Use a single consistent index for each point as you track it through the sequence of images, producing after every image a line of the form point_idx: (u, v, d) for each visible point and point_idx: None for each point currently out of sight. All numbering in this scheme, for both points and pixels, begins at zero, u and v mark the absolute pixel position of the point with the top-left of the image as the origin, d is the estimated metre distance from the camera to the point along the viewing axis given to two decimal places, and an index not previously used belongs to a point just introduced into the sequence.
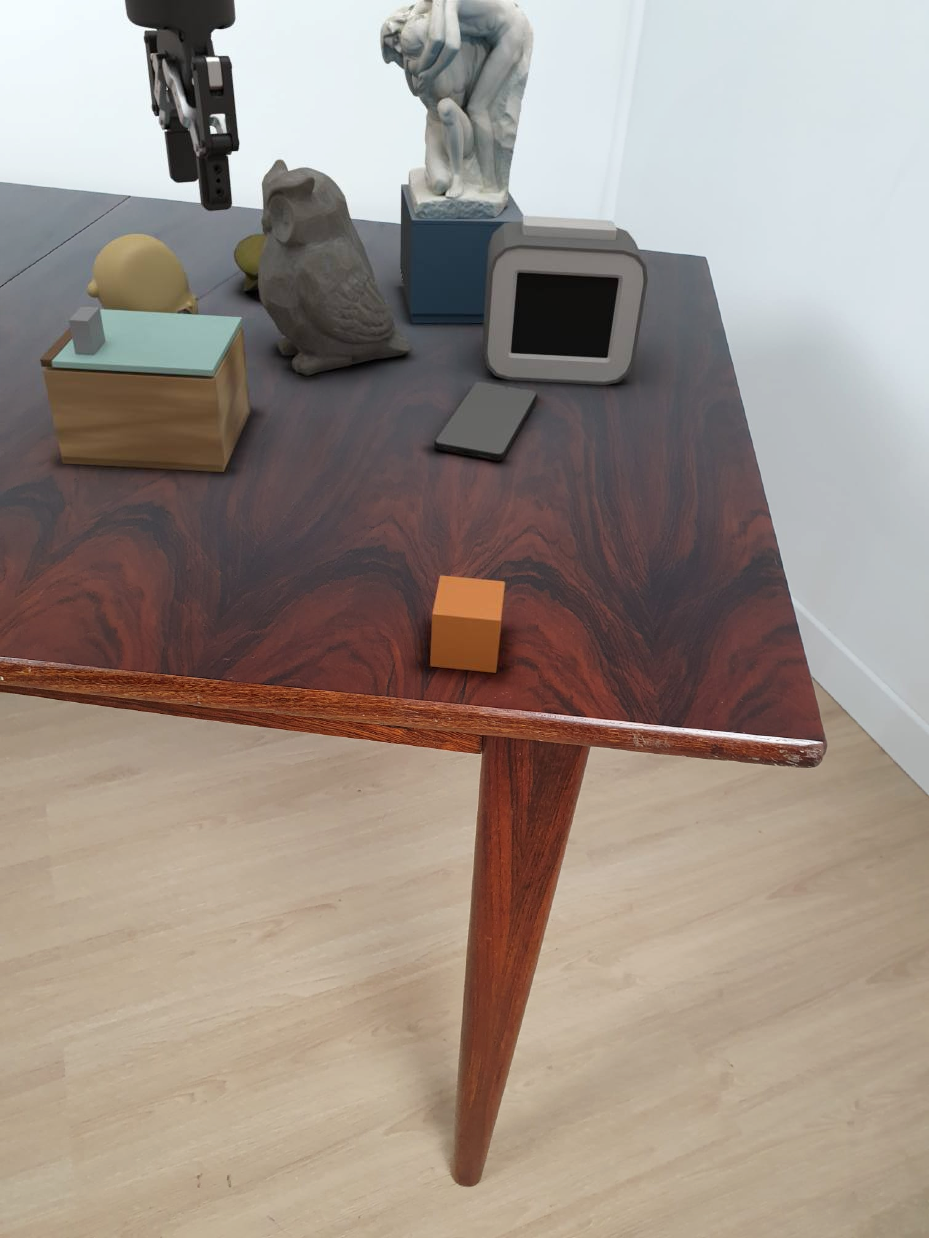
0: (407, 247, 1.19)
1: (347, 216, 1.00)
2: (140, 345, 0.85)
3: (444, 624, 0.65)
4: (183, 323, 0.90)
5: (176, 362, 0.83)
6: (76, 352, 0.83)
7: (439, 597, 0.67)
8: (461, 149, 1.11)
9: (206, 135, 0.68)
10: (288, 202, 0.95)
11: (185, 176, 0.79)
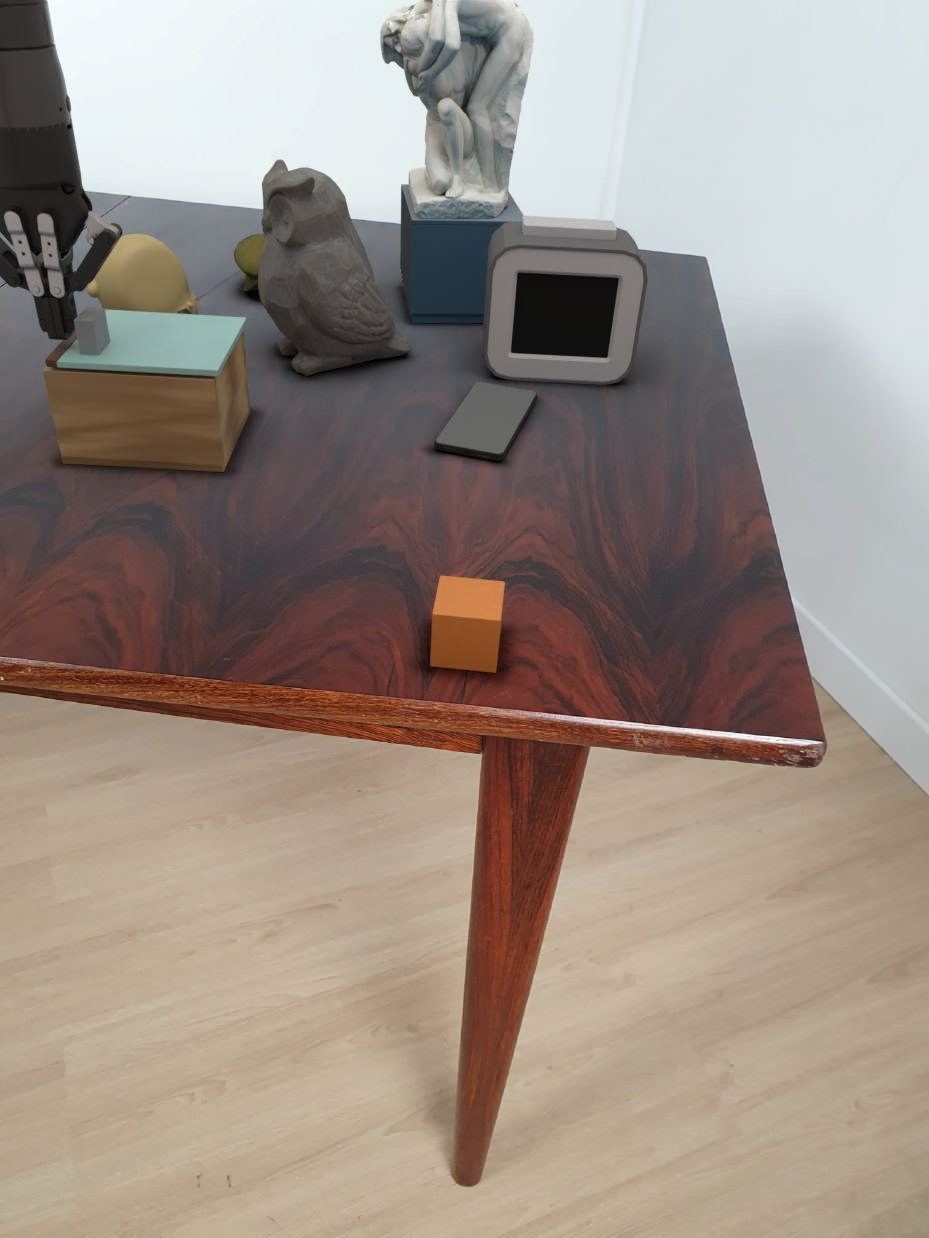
0: (407, 247, 1.19)
1: (347, 217, 1.00)
2: (145, 345, 0.85)
3: (444, 624, 0.65)
4: (188, 323, 0.90)
5: (181, 362, 0.83)
6: (81, 352, 0.83)
7: (439, 597, 0.67)
8: (461, 149, 1.11)
9: (83, 275, 0.80)
10: (288, 202, 0.95)
11: None
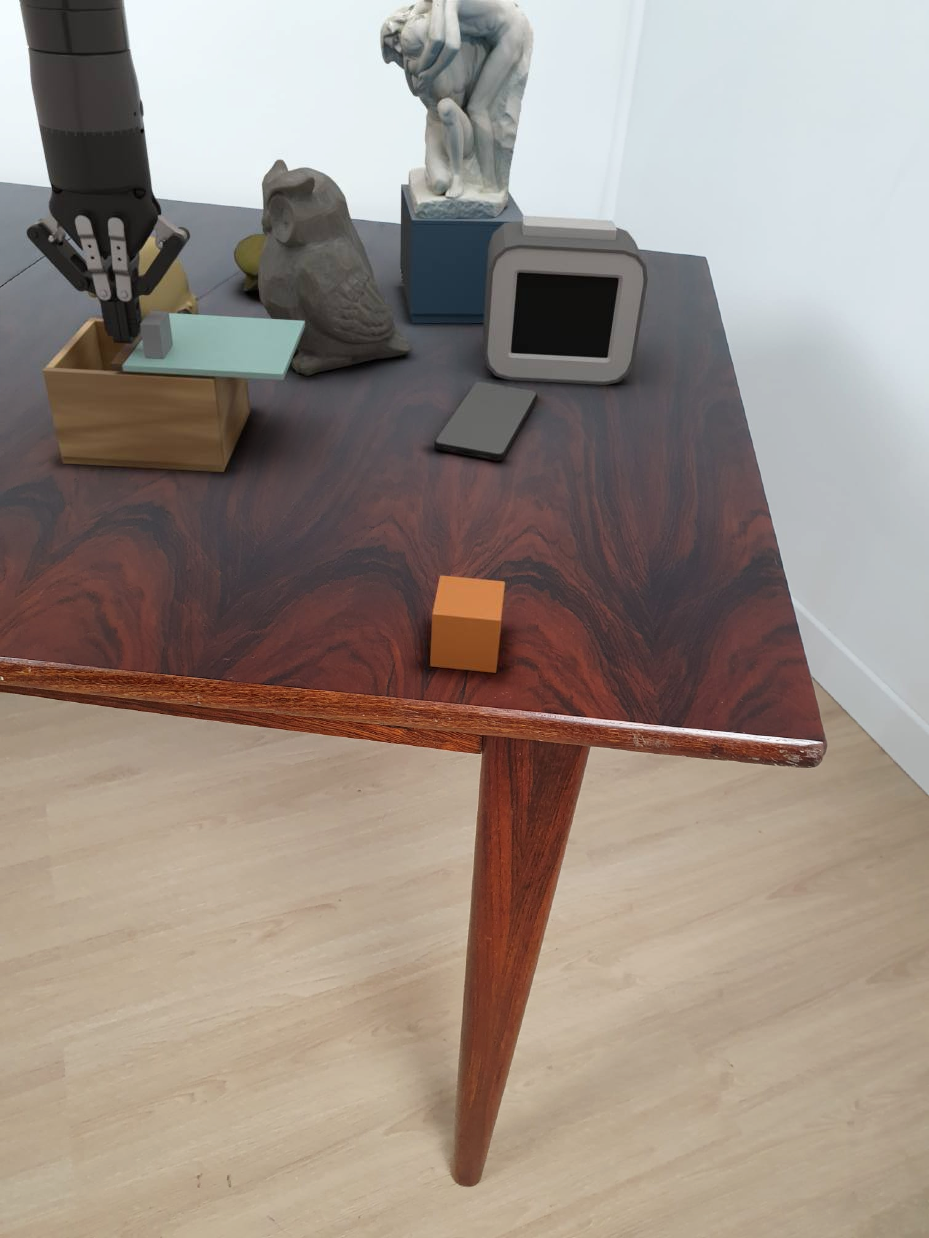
0: (407, 247, 1.19)
1: (347, 217, 1.00)
2: (208, 349, 0.85)
3: (444, 624, 0.65)
4: (247, 327, 0.90)
5: (246, 366, 0.83)
6: (146, 356, 0.83)
7: (439, 597, 0.67)
8: (461, 149, 1.11)
9: (151, 279, 0.80)
10: (288, 202, 0.95)
11: None
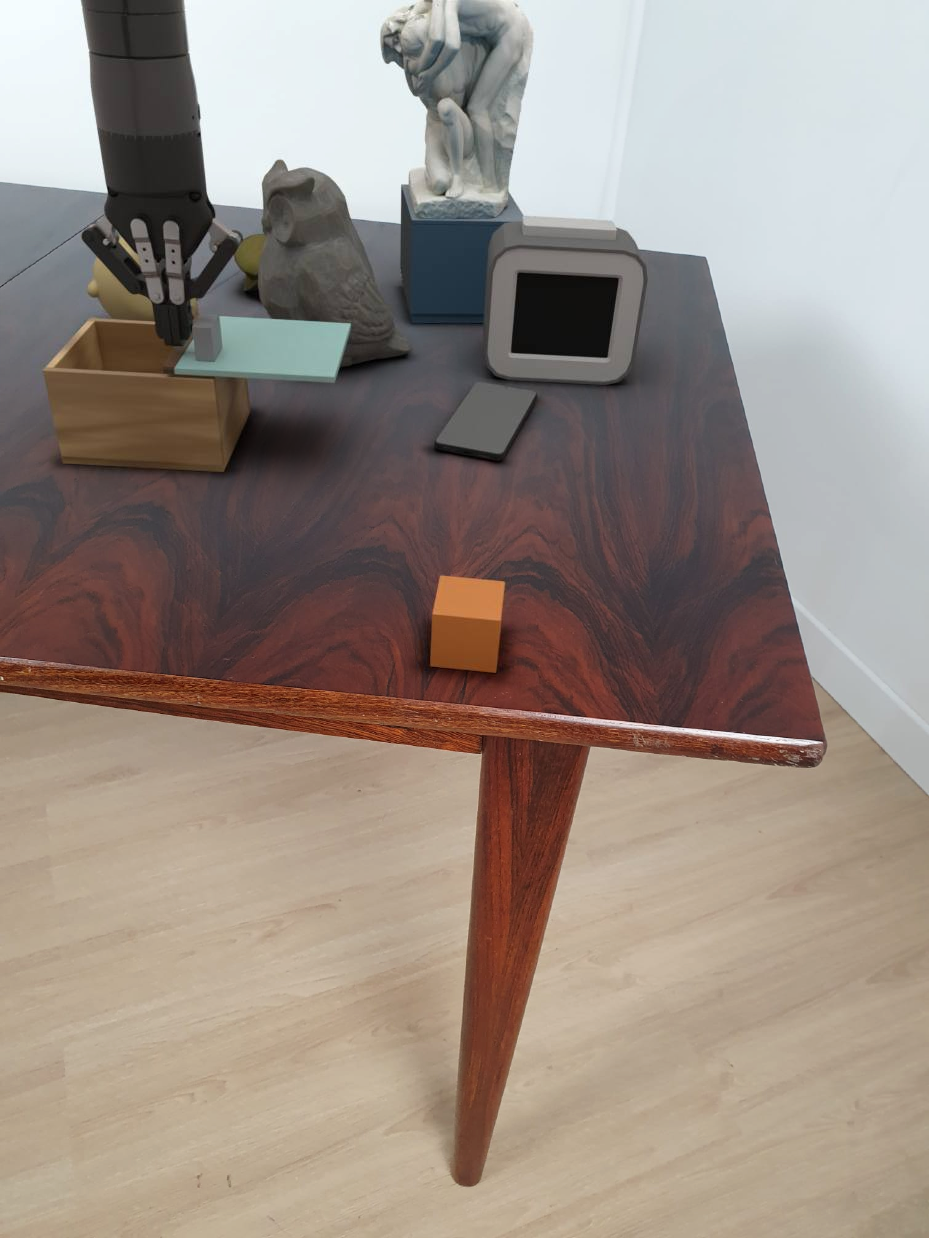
0: (407, 247, 1.19)
1: (347, 217, 1.00)
2: (257, 352, 0.85)
3: (444, 624, 0.65)
4: (294, 329, 0.90)
5: (297, 369, 0.83)
6: (197, 359, 0.83)
7: (439, 597, 0.67)
8: (461, 149, 1.11)
9: (204, 282, 0.80)
10: (288, 202, 0.95)
11: None
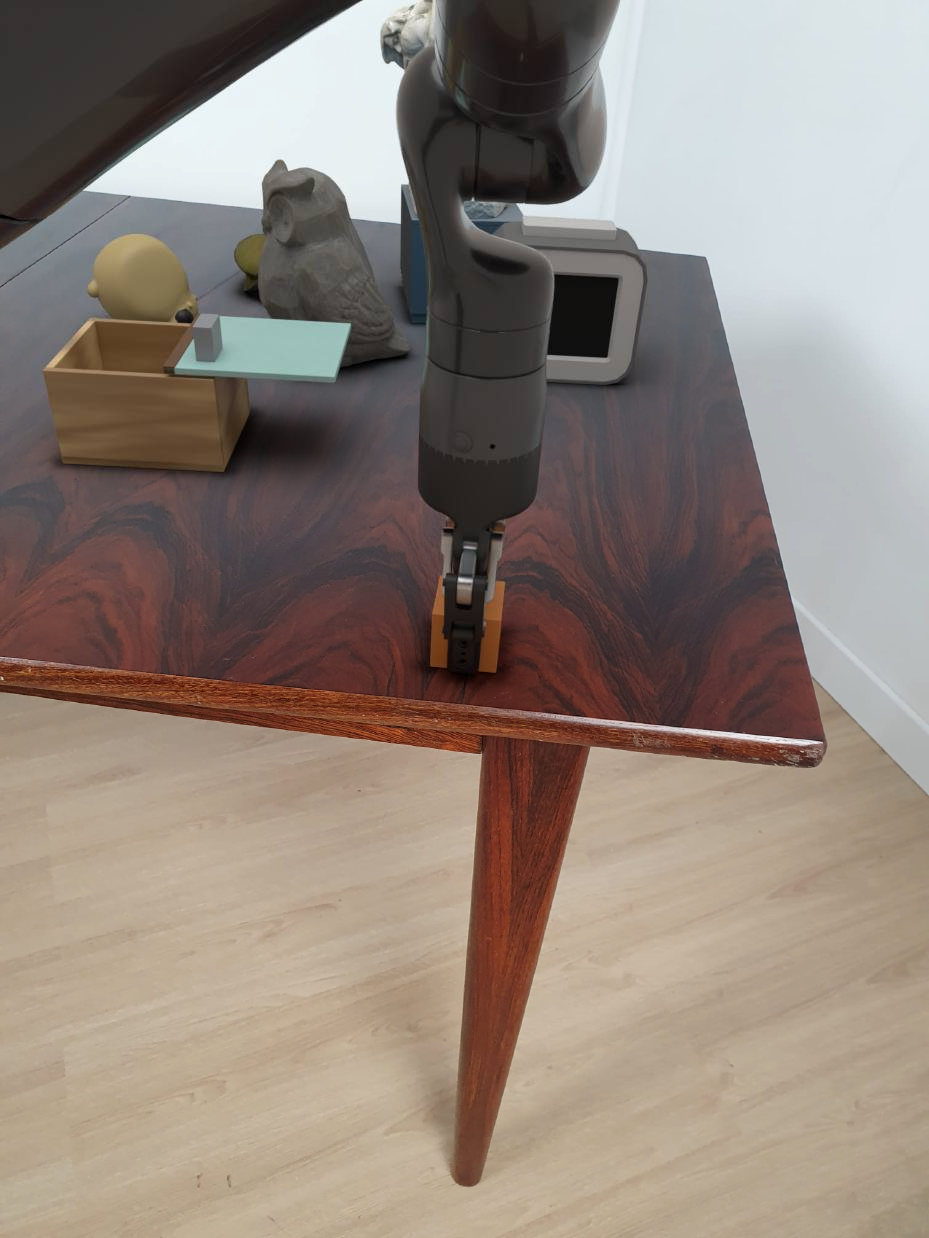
0: (407, 247, 1.19)
1: (347, 217, 1.00)
2: (258, 352, 0.85)
3: None
4: (295, 330, 0.90)
5: (297, 369, 0.83)
6: (197, 359, 0.83)
7: (439, 597, 0.67)
8: None
9: None
10: (288, 202, 0.95)
11: None
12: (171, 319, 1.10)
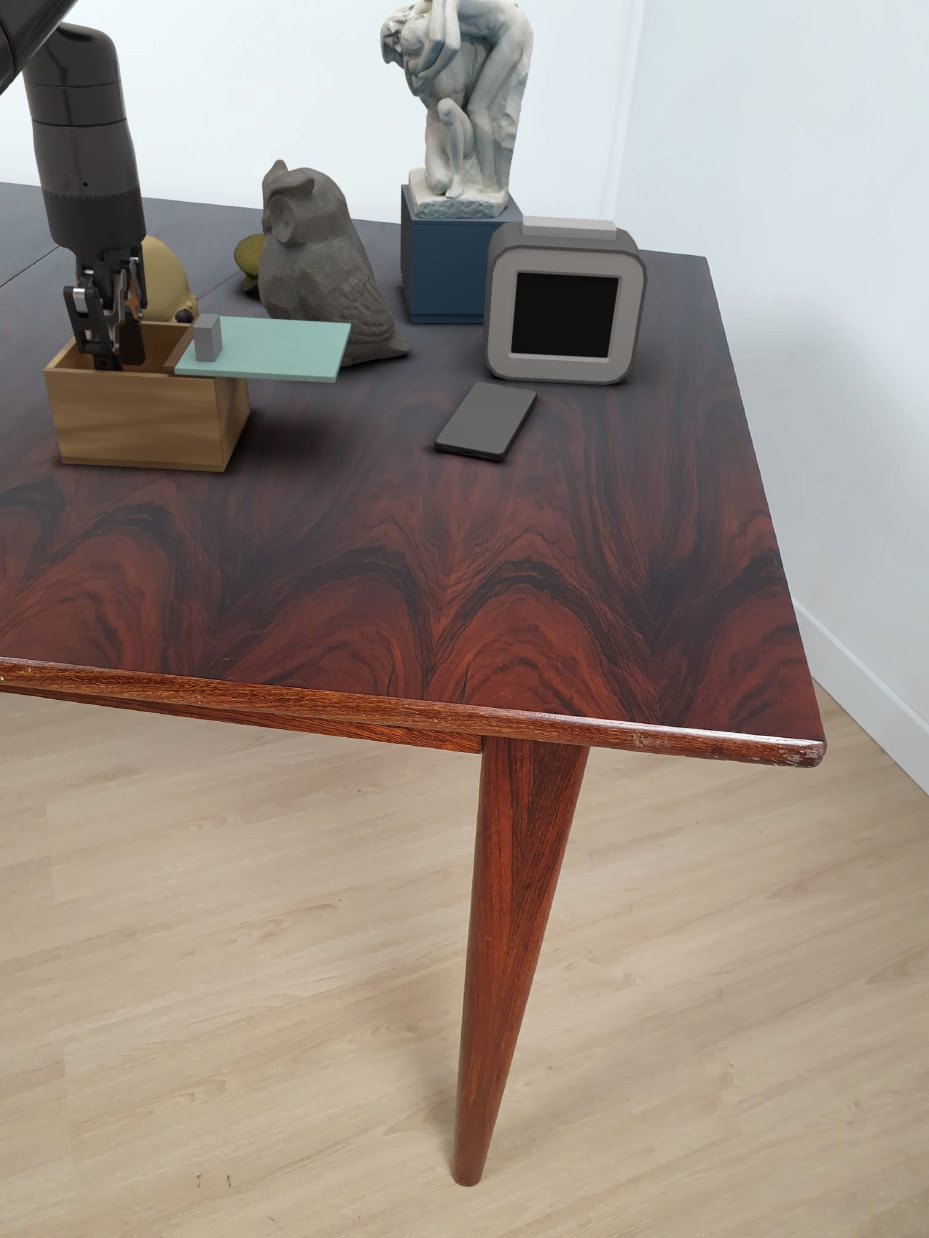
0: (407, 247, 1.19)
1: (347, 217, 1.00)
2: (258, 352, 0.85)
3: None
4: (295, 330, 0.90)
5: (297, 369, 0.83)
6: (197, 359, 0.83)
7: None
8: (461, 149, 1.11)
9: None
10: (288, 202, 0.95)
11: None
12: (171, 319, 1.10)
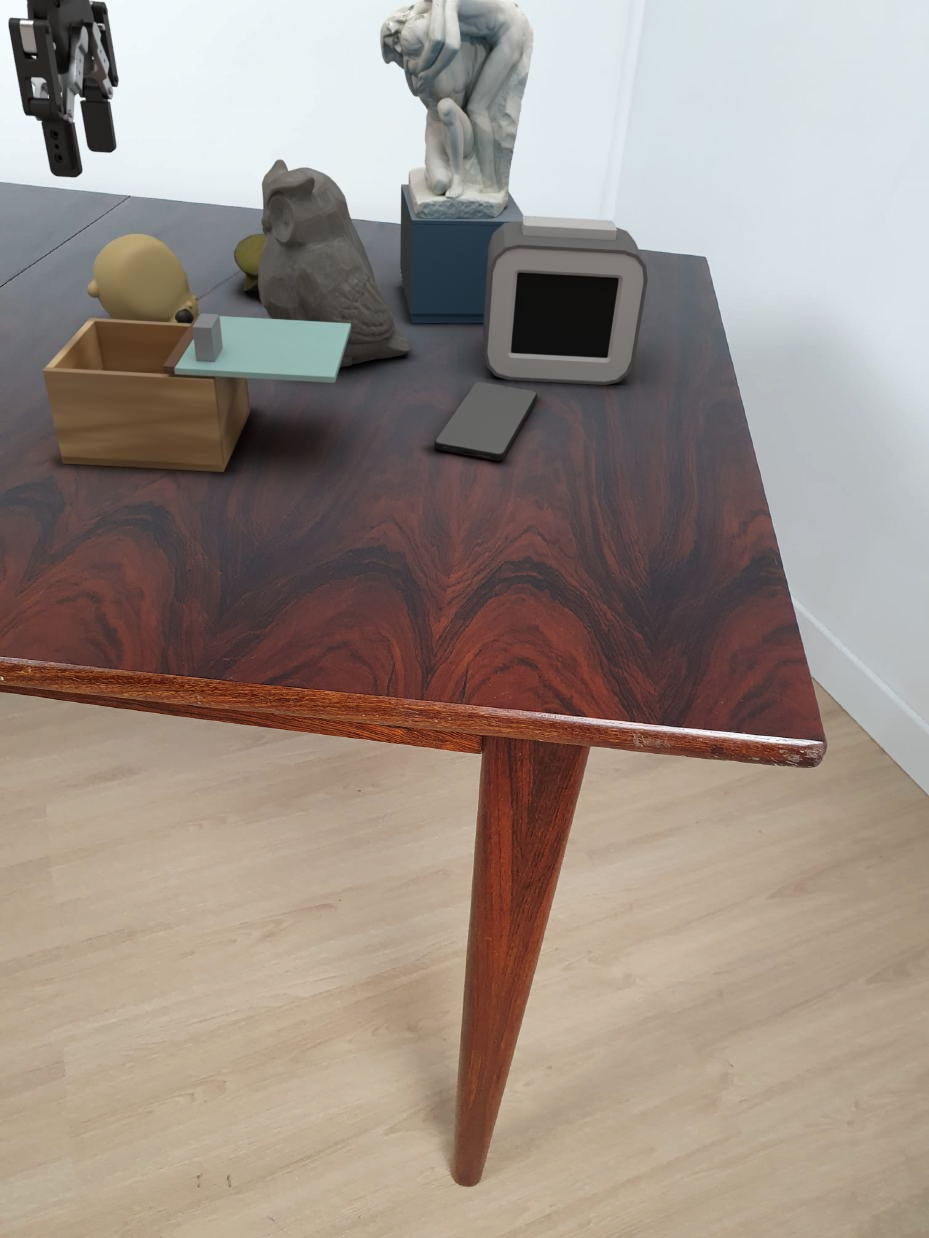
0: (407, 247, 1.19)
1: (347, 217, 1.00)
2: (258, 352, 0.85)
3: None
4: (295, 330, 0.90)
5: (297, 369, 0.83)
6: (197, 359, 0.83)
7: None
8: (461, 149, 1.11)
9: None
10: (288, 202, 0.95)
11: None
12: (171, 319, 1.10)
